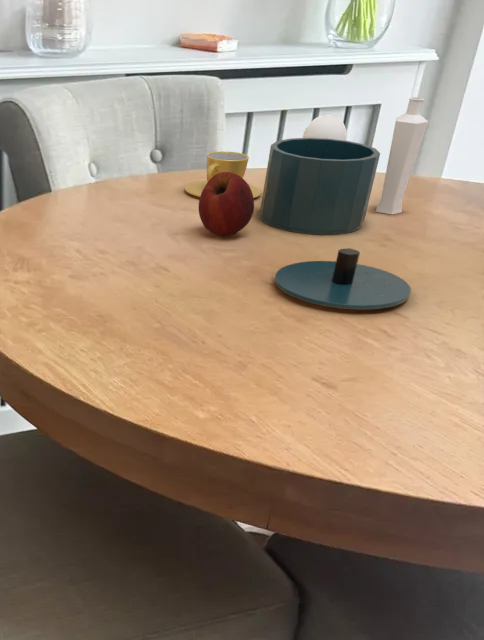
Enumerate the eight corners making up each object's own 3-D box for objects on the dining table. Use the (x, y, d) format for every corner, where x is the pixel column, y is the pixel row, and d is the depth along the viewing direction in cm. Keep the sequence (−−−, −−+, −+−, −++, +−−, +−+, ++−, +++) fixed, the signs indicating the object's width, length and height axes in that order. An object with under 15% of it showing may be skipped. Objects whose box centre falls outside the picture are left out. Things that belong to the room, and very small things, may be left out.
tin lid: (434, 295, 103) (446, 256, 100) (356, 325, 96) (367, 283, 93) (325, 261, 113) (333, 224, 110) (246, 286, 105) (253, 246, 102)
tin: (382, 223, 127) (400, 151, 121) (320, 241, 120) (336, 165, 114) (301, 201, 136) (314, 133, 130) (239, 217, 128) (250, 145, 123)
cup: (210, 180, 146) (214, 144, 142) (274, 192, 140) (280, 155, 136) (169, 193, 138) (173, 156, 135) (235, 207, 132) (241, 168, 129)
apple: (183, 231, 122) (190, 169, 117) (224, 223, 126) (232, 163, 121) (219, 245, 117) (228, 181, 112) (261, 236, 121) (271, 174, 116)
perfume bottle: (404, 216, 130) (434, 102, 121) (373, 213, 131) (401, 99, 122) (404, 208, 133) (434, 97, 124) (374, 205, 134) (401, 94, 125)
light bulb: (342, 196, 139) (359, 118, 132) (303, 197, 138) (318, 119, 131) (323, 185, 144) (338, 110, 137) (285, 187, 143) (299, 111, 136)
